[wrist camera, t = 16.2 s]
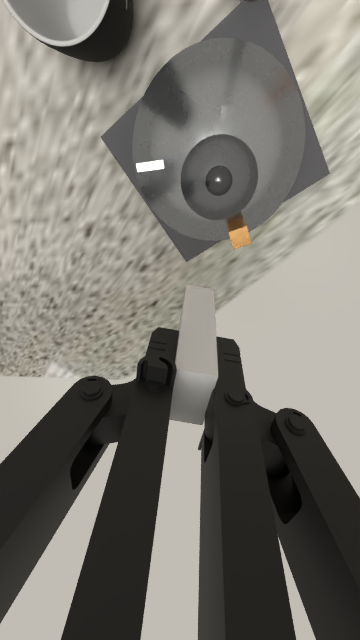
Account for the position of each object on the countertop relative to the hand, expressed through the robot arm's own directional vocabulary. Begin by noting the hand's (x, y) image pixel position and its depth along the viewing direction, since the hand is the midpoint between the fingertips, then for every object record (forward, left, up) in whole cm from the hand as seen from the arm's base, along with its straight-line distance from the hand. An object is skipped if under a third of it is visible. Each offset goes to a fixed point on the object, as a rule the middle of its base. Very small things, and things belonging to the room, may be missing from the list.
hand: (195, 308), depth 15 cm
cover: (+4, +3, -21) cm, 21 cm away
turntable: (+5, +5, -22) cm, 23 cm away
